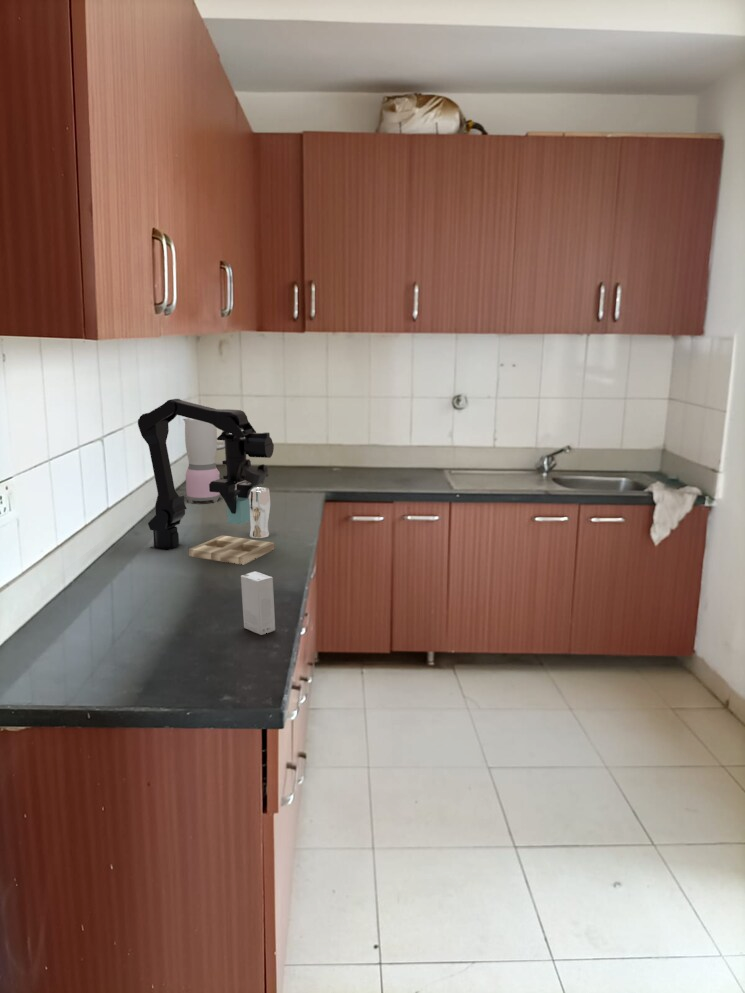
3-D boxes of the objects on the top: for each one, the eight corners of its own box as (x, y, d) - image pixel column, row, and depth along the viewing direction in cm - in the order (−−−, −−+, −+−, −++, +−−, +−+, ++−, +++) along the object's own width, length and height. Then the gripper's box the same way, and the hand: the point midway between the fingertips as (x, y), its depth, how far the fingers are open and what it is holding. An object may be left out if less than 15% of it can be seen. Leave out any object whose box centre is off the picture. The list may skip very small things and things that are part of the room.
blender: (186, 505, 272) (183, 416, 264) (185, 497, 283) (181, 412, 276) (231, 502, 276) (228, 415, 269) (227, 495, 287) (225, 412, 280)
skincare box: (276, 630, 161) (275, 576, 158) (259, 636, 157) (258, 581, 155) (258, 622, 165) (256, 570, 162) (241, 628, 162) (240, 574, 159)
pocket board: (189, 557, 210) (188, 549, 209) (222, 543, 224) (222, 535, 224) (243, 566, 203) (243, 557, 202) (274, 551, 217) (274, 542, 217)
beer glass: (249, 540, 228) (248, 492, 224) (246, 534, 234) (245, 487, 231) (272, 539, 229) (271, 491, 226) (269, 533, 236) (268, 486, 233)
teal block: (227, 523, 209) (226, 500, 208) (236, 519, 213) (235, 497, 212) (241, 524, 208) (240, 501, 206) (250, 520, 212) (249, 498, 210)
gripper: (241, 463, 195) (244, 521, 198) (278, 453, 212) (280, 506, 215) (206, 461, 199) (209, 518, 203) (245, 450, 216) (247, 503, 219)
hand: (238, 511), depth 210 cm, fingers closed on teal block, 4 cm apart
